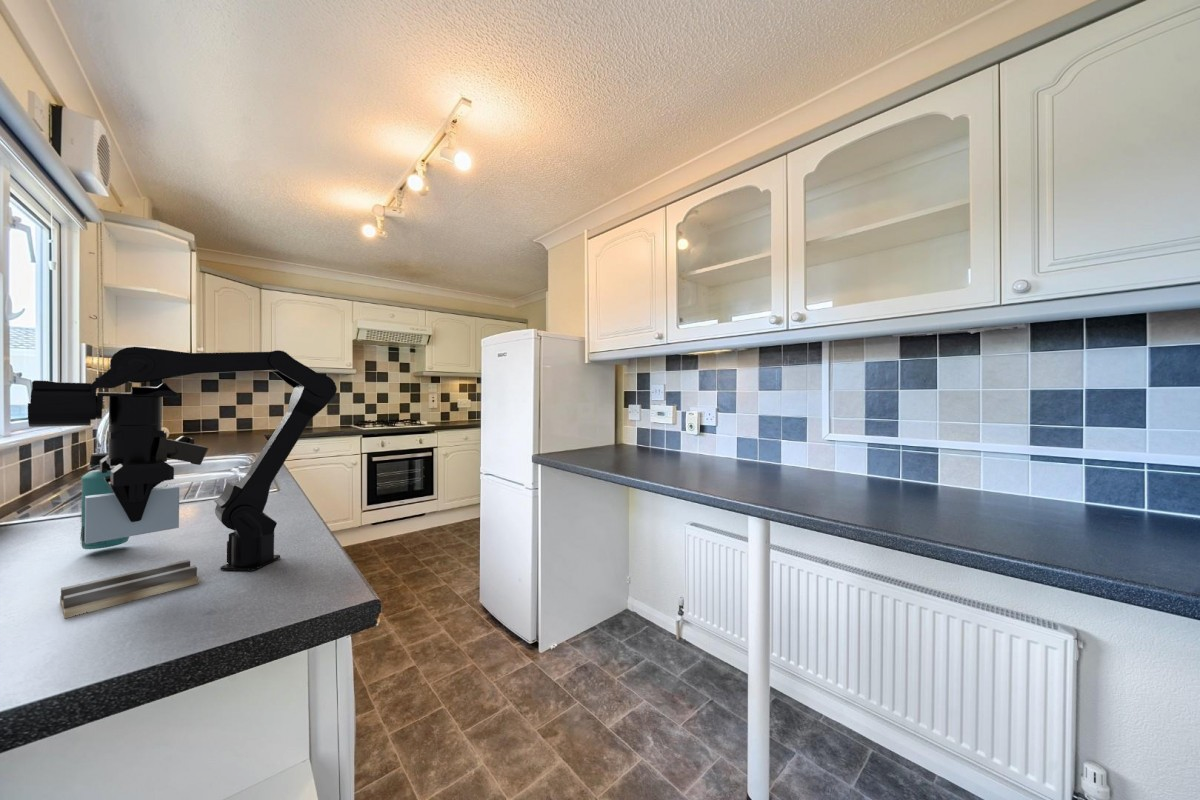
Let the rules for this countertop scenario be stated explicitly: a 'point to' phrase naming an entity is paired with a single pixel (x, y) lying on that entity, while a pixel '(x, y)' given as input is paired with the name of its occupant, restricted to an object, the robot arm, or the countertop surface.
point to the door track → (126, 587)
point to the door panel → (113, 523)
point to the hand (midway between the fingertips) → (134, 520)
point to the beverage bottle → (94, 486)
